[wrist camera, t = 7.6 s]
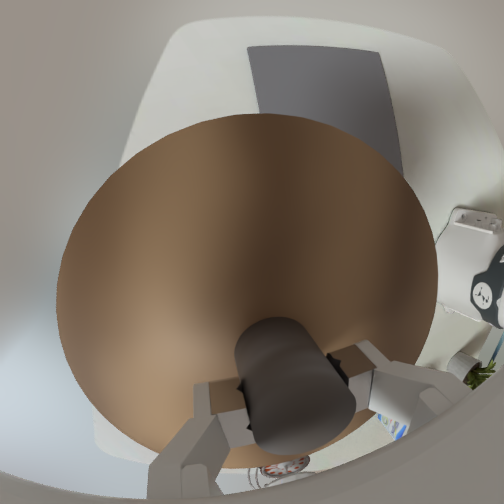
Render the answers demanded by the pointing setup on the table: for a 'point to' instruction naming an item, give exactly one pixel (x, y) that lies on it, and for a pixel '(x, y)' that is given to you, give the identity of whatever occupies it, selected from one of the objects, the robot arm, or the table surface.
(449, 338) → the table surface
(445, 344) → the table surface
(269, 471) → the french press
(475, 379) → the house plant
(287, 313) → the lid
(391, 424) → the medicine box
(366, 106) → the mat
